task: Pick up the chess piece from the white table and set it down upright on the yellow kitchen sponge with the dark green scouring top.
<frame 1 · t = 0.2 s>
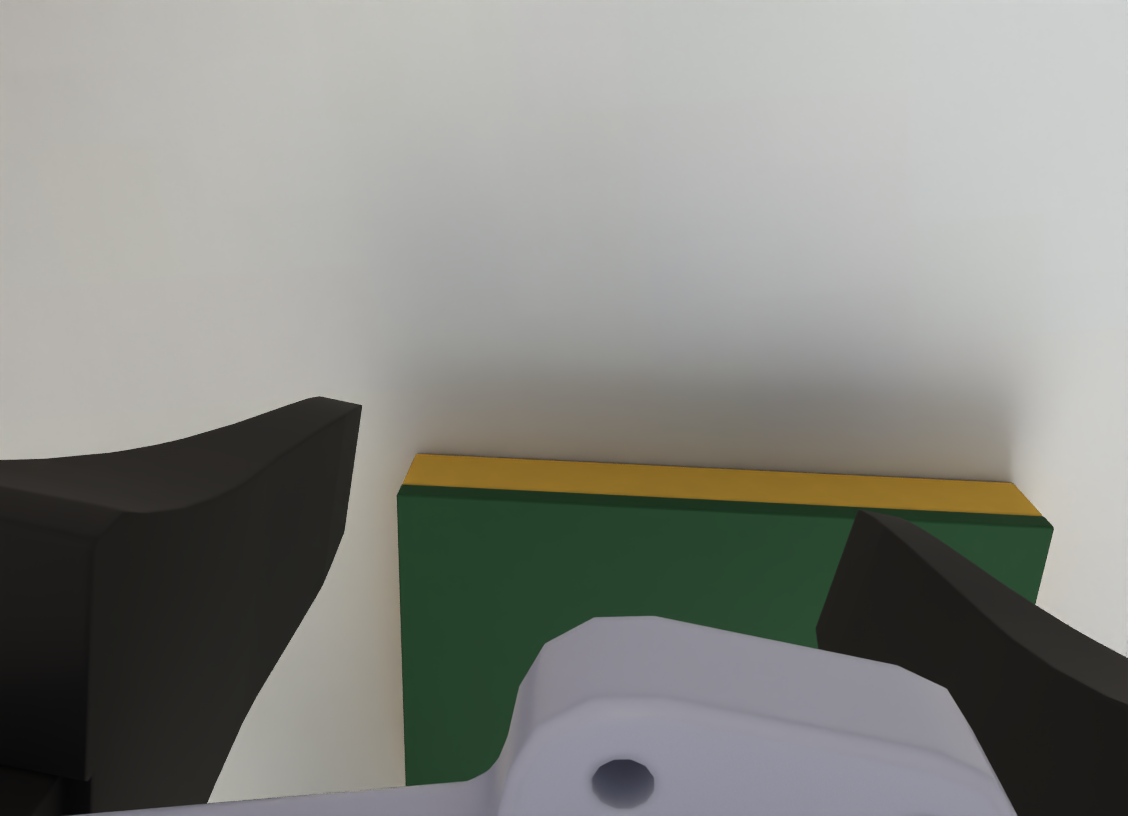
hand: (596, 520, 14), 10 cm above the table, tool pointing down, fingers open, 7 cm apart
sponge: (693, 651, 26), on the table
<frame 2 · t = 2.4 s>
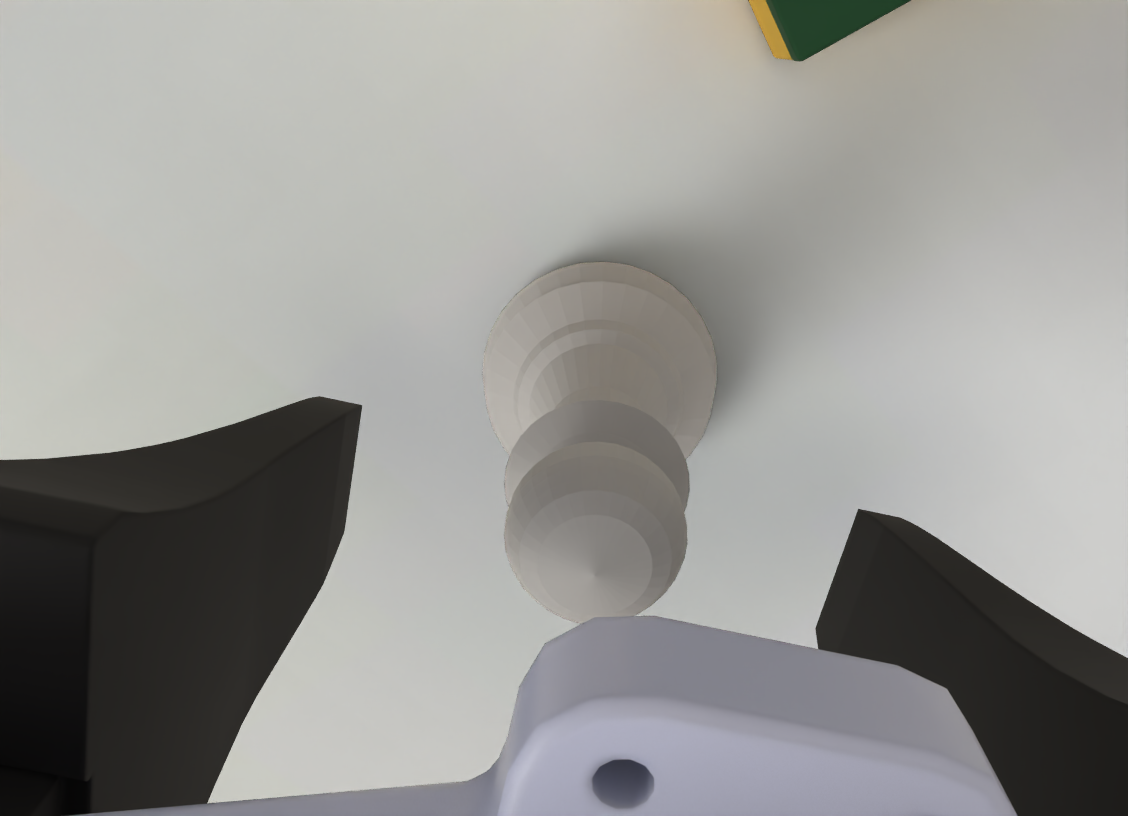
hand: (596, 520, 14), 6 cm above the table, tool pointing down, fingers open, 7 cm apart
chess piece: (599, 369, 20), on the table
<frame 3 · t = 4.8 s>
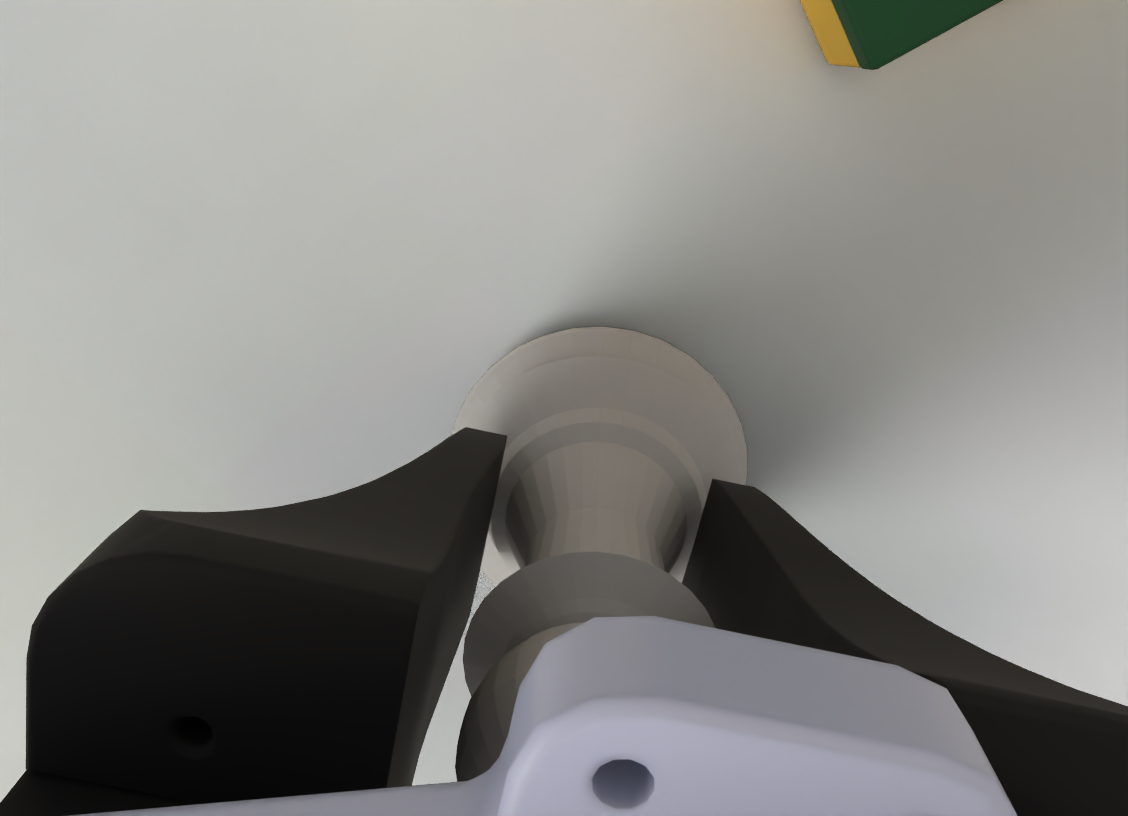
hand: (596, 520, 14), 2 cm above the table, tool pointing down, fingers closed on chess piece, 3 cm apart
chess piece: (597, 457, 16), on the table, touching gripper
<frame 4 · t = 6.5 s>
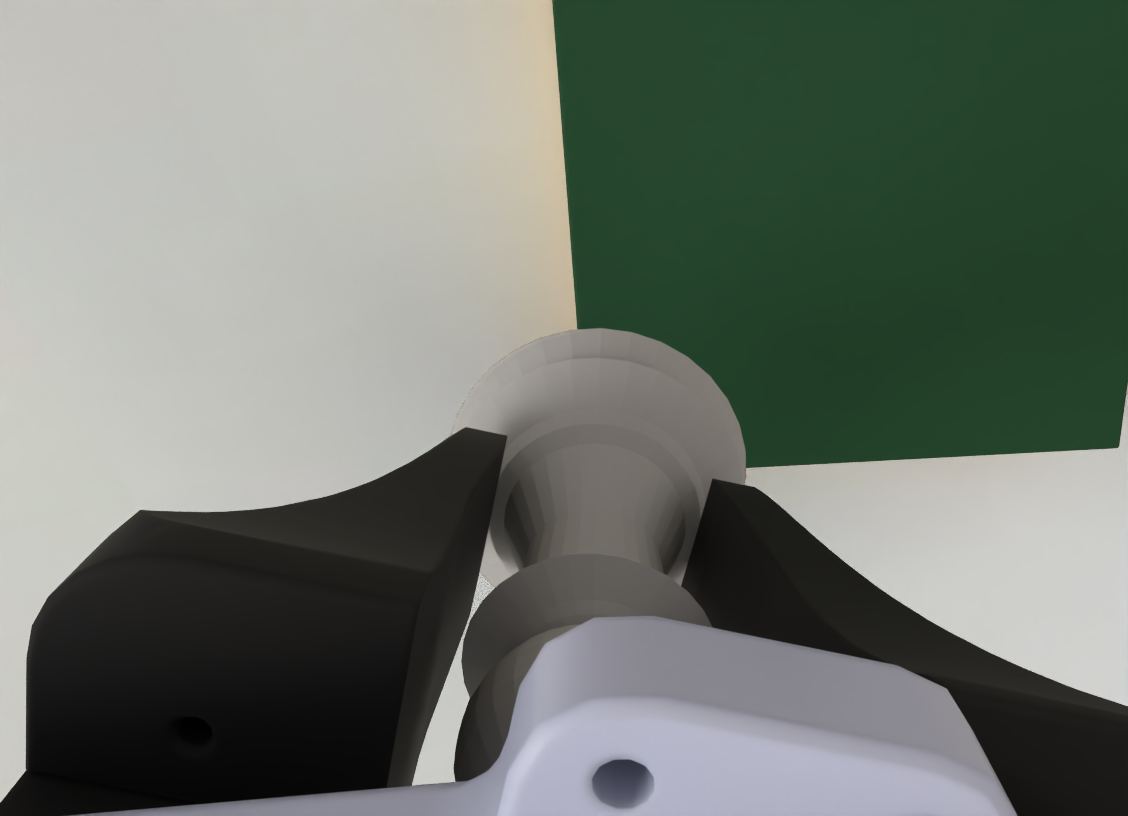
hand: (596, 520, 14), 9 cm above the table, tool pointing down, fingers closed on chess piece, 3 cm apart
chess piece: (596, 458, 16), point 7 cm above the table, touching gripper
sponge: (831, 84, 20), on the table
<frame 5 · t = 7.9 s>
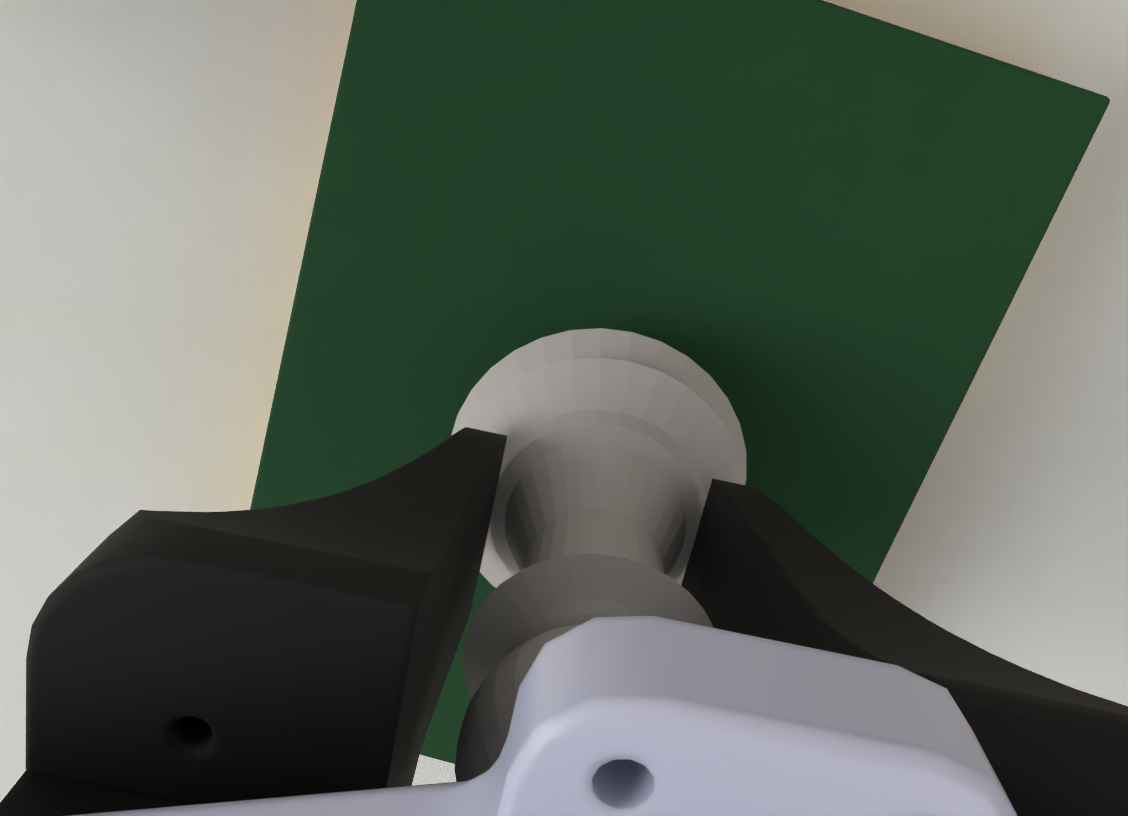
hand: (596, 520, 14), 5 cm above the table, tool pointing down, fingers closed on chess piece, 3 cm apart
chess piece: (596, 458, 16), point 3 cm above the table, touching gripper
sponge: (599, 391, 19), on the table
when the fingers open (4 cm above the table, at t = 8.5 s): chess piece stays where it is, resting on sponge.
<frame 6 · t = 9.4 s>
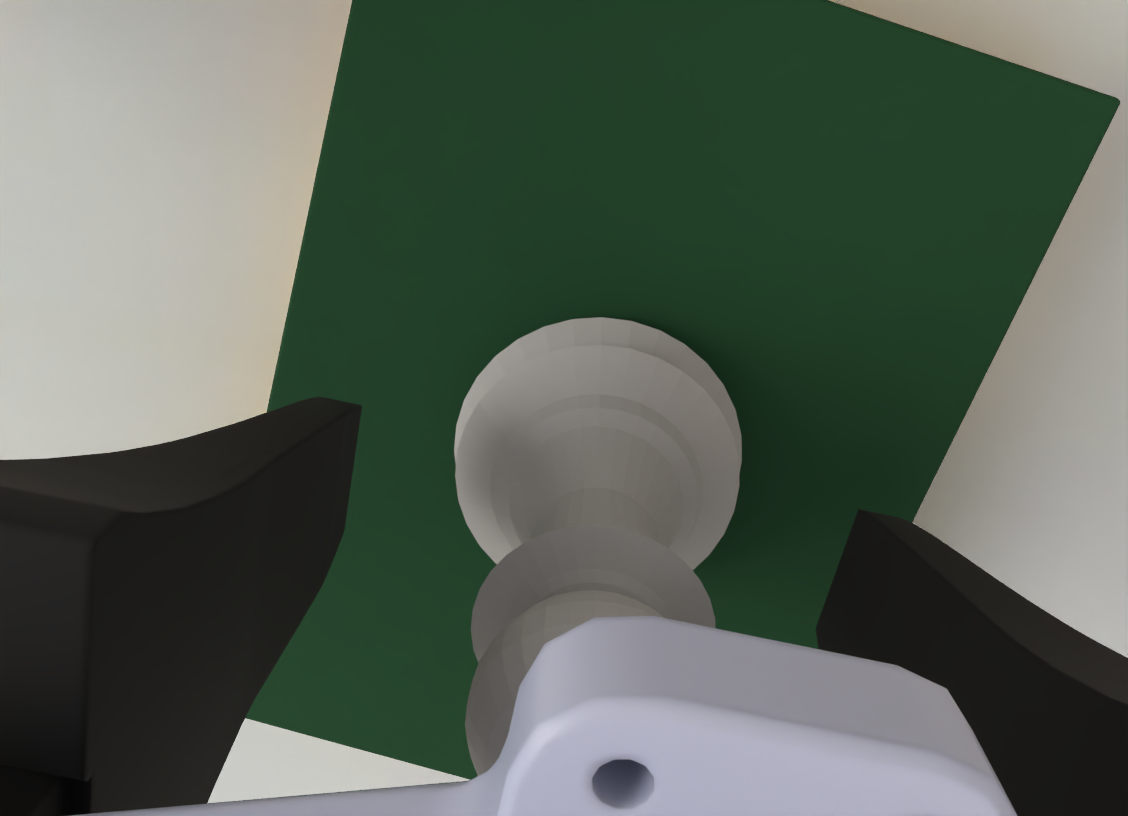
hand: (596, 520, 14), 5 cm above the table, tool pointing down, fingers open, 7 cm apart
chess piece: (597, 443, 16), point 2 cm above the table, touching sponge
sponge: (600, 397, 18), on the table
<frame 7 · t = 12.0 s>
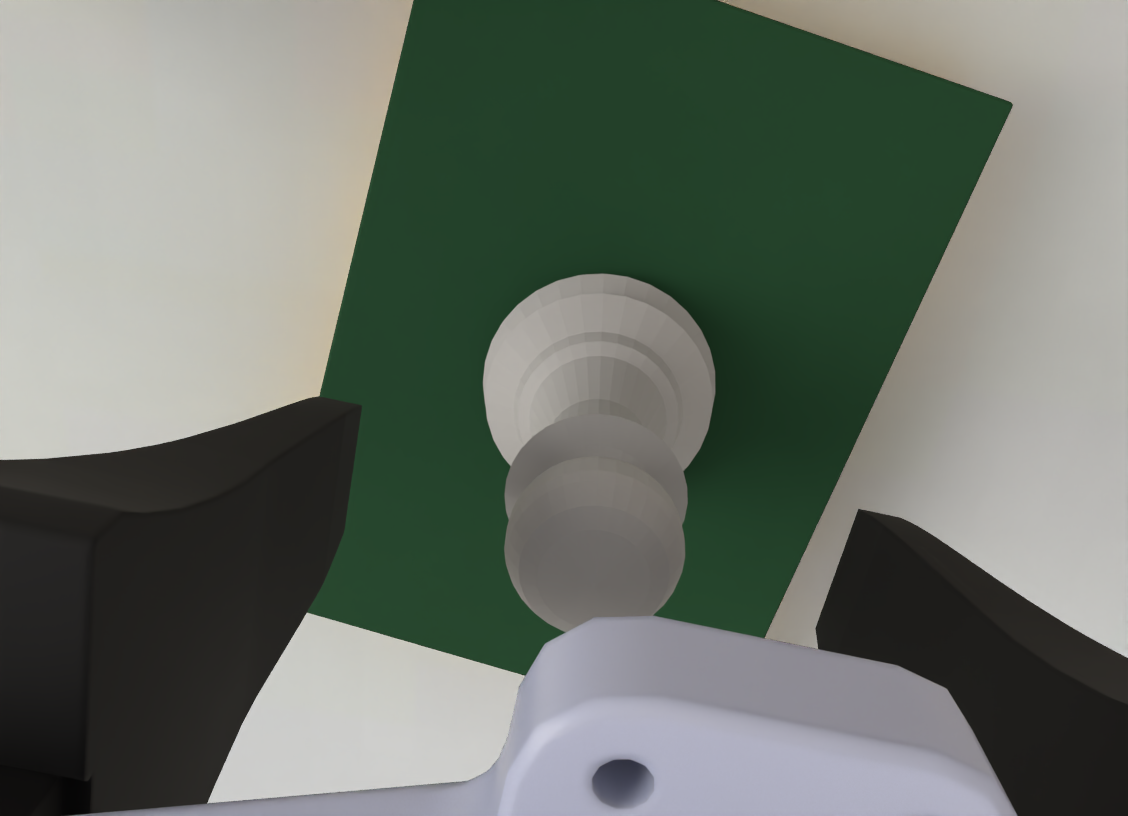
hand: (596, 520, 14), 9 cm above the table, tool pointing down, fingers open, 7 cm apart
chess piece: (598, 379, 20), point 2 cm above the table, touching sponge
sponge: (600, 346, 22), on the table
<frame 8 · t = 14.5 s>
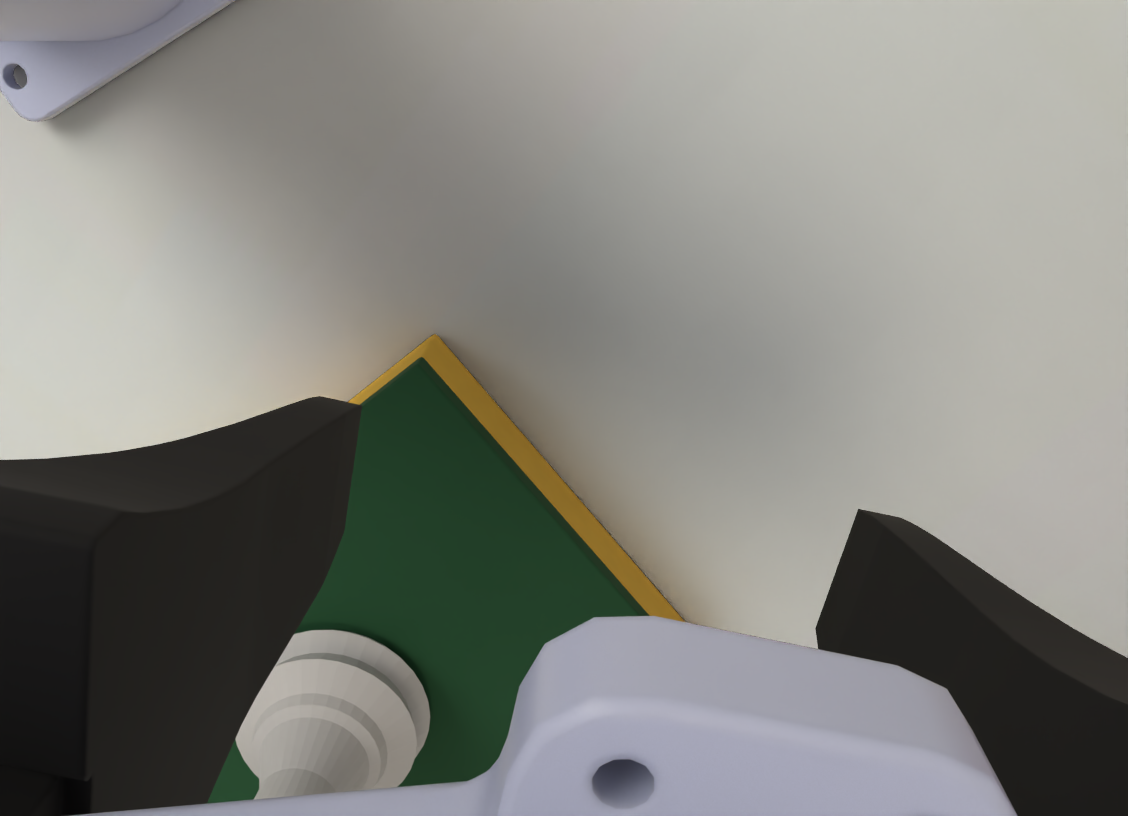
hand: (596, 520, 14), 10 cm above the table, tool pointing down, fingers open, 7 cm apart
chess piece: (340, 697, 24), point 2 cm above the table, touching sponge
sponge: (362, 645, 26), on the table
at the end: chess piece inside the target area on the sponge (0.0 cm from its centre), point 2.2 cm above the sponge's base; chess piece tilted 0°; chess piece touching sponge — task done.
